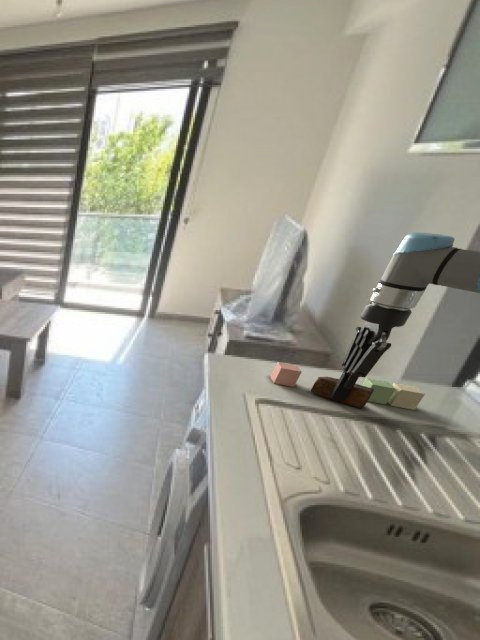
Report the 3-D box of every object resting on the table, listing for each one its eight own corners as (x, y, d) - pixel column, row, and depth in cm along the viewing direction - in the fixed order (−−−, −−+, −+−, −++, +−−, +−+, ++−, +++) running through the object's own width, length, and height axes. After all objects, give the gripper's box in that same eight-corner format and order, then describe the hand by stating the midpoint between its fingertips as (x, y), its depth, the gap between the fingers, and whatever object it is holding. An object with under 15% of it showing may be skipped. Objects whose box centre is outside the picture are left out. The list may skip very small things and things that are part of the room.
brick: (365, 405, 119) (375, 388, 117) (362, 409, 117) (372, 392, 115) (312, 389, 126) (321, 373, 124) (308, 392, 124) (317, 376, 122)
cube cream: (414, 410, 118) (425, 394, 116) (391, 405, 120) (401, 389, 117) (406, 402, 122) (416, 386, 119) (383, 398, 123) (393, 382, 121)
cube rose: (294, 387, 127) (301, 371, 125) (273, 383, 129) (281, 368, 126) (289, 380, 131) (297, 365, 128) (270, 377, 132) (277, 362, 130)
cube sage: (385, 404, 120) (395, 388, 118) (363, 400, 122) (372, 384, 120) (378, 397, 124) (388, 381, 121) (356, 393, 125) (366, 377, 123)
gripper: (358, 296, 114) (311, 384, 125) (380, 310, 104) (327, 405, 115) (399, 301, 111) (347, 391, 123) (426, 316, 101) (366, 412, 112)
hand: (337, 397), depth 119 cm, fingers closed
